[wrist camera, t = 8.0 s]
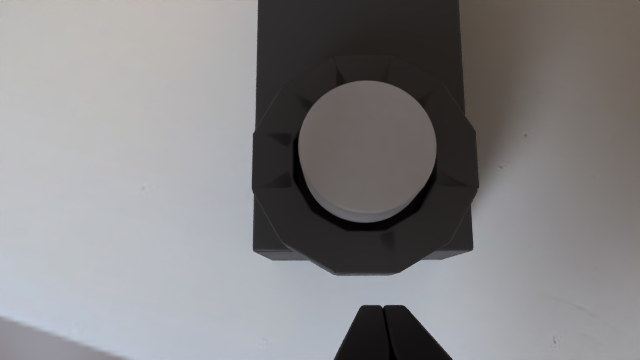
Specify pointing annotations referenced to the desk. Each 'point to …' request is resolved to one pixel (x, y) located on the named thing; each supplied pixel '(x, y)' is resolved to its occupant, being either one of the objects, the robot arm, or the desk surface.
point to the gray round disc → (366, 150)
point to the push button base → (338, 69)
